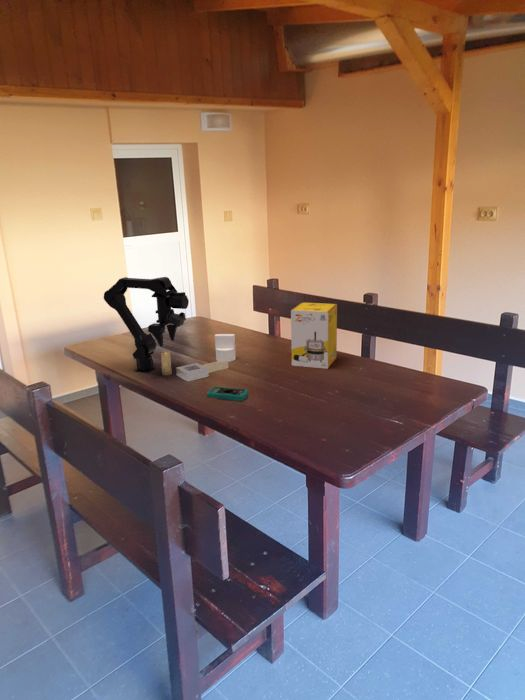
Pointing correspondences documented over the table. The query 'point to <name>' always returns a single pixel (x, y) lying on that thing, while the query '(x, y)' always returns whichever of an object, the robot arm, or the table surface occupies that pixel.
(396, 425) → the table surface
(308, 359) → the packaging box
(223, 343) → the base with upright slab
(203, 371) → the square frame with handle
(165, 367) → the brown mottled cylinder
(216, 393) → the digital multimeter
